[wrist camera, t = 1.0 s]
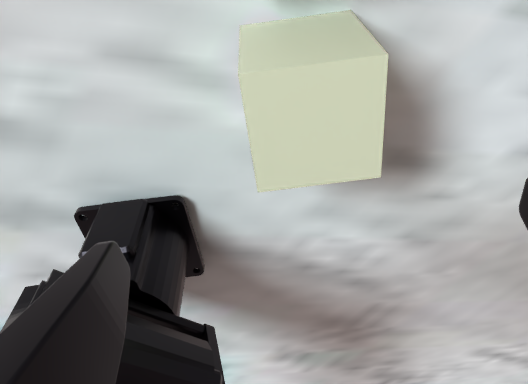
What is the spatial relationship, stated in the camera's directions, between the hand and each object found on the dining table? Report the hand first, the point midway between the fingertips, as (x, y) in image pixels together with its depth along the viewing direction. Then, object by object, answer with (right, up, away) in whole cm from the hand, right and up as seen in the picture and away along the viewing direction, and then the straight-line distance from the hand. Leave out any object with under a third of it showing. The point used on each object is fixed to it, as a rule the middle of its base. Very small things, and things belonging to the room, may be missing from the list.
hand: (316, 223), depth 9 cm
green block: (0, +7, +11) cm, 13 cm away
